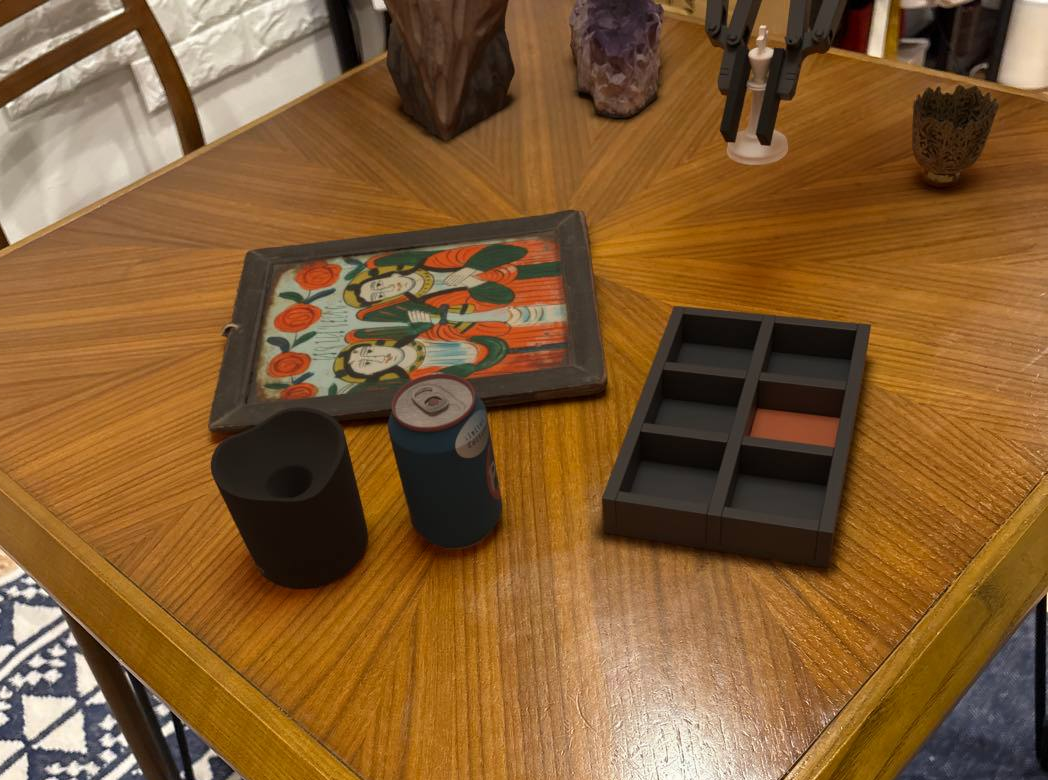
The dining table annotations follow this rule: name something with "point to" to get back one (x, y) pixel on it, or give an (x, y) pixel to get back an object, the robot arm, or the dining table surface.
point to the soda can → (445, 460)
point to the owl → (449, 61)
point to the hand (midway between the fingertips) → (745, 137)
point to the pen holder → (294, 497)
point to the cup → (950, 132)
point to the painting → (413, 320)
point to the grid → (741, 435)
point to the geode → (617, 53)
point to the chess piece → (758, 113)
